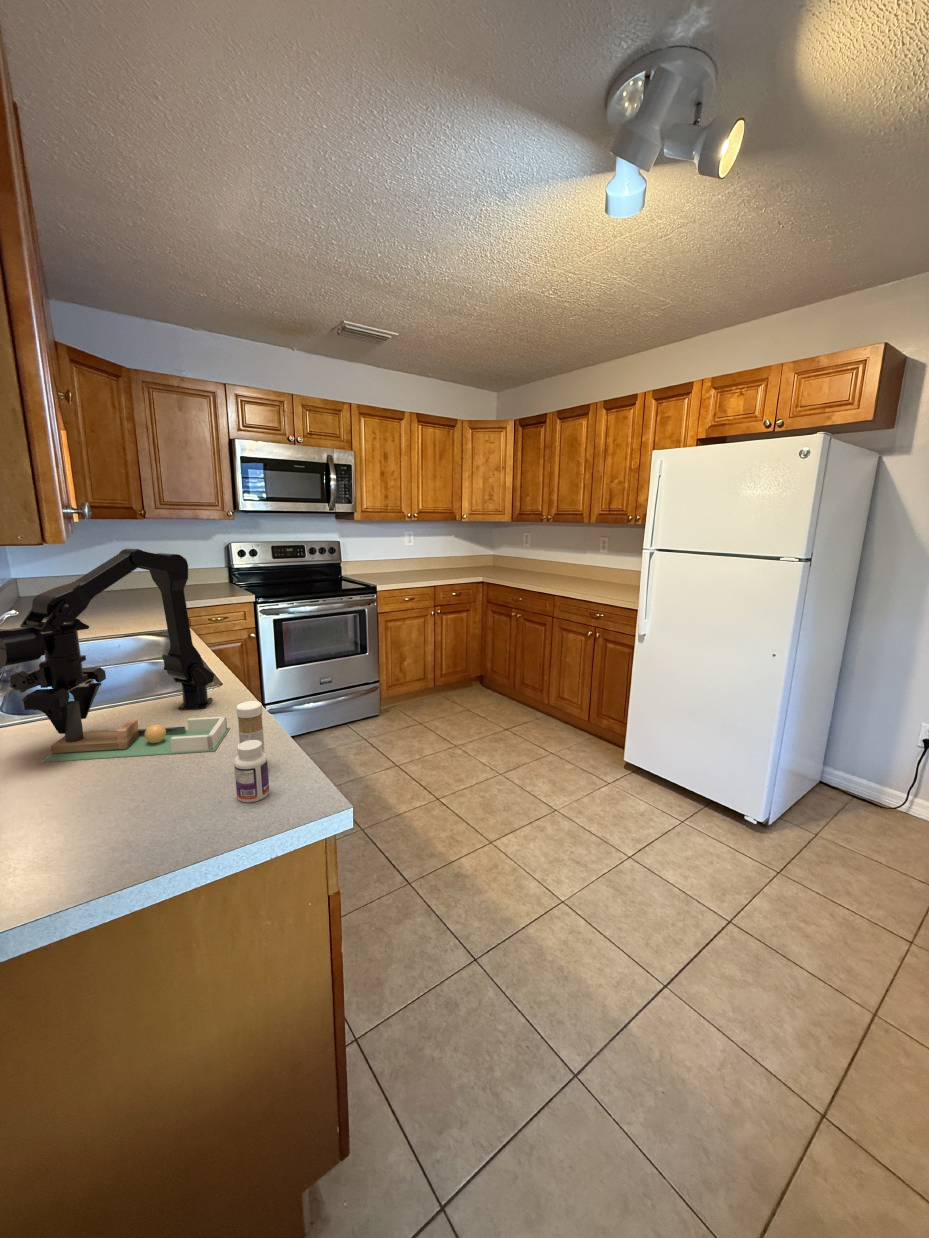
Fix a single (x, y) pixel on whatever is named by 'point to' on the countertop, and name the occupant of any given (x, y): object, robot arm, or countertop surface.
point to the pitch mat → (131, 749)
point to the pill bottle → (251, 772)
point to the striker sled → (93, 736)
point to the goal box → (200, 741)
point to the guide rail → (168, 730)
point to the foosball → (155, 733)
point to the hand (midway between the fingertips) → (73, 725)
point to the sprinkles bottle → (250, 721)
